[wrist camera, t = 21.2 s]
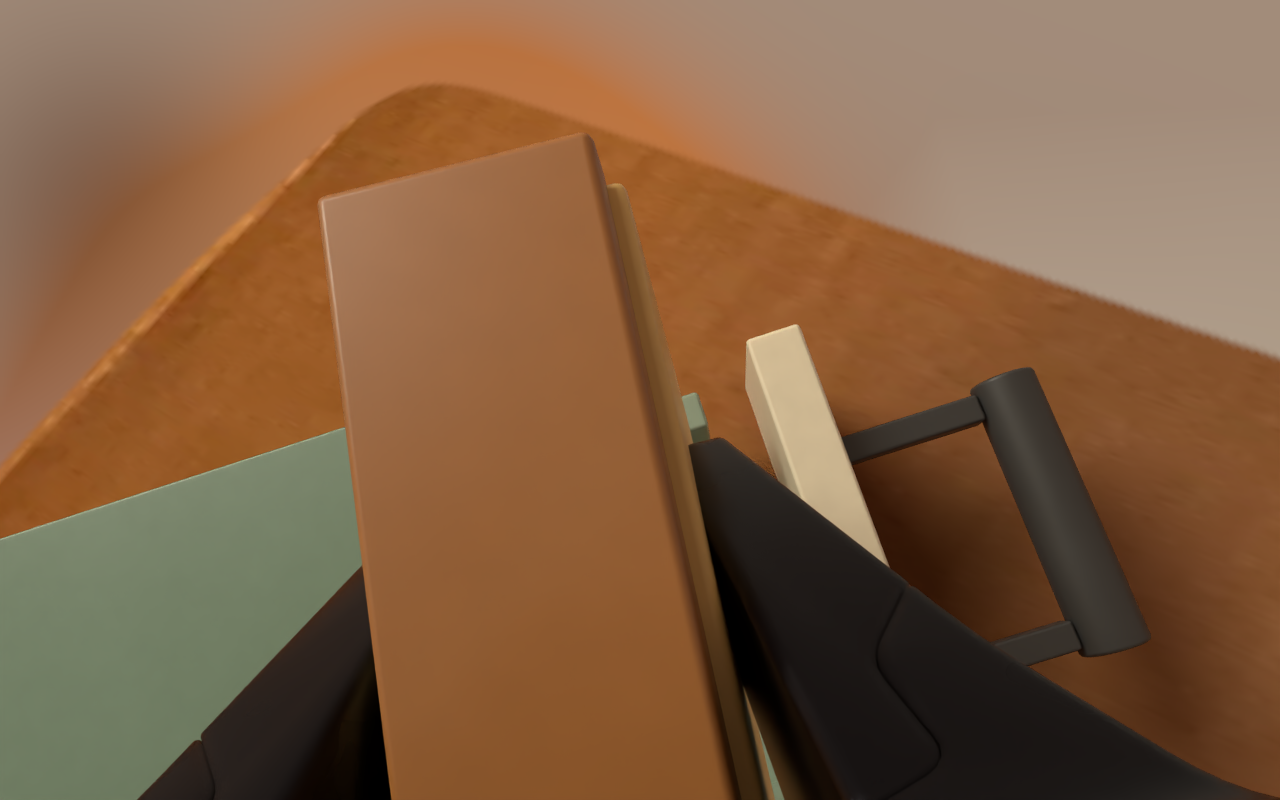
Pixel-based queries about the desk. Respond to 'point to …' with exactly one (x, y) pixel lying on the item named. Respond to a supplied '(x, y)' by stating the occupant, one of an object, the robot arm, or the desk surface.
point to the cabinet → (161, 615)
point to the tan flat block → (528, 493)
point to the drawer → (1004, 405)
